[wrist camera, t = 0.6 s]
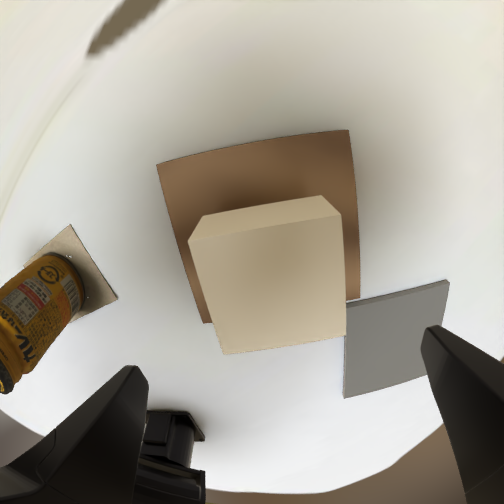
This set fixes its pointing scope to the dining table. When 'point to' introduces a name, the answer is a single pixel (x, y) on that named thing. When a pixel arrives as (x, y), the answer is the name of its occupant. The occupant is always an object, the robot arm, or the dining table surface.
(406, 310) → the pad
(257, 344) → the tan cardboard carton
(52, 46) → the dining table surface
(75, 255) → the condiment
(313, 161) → the post base
